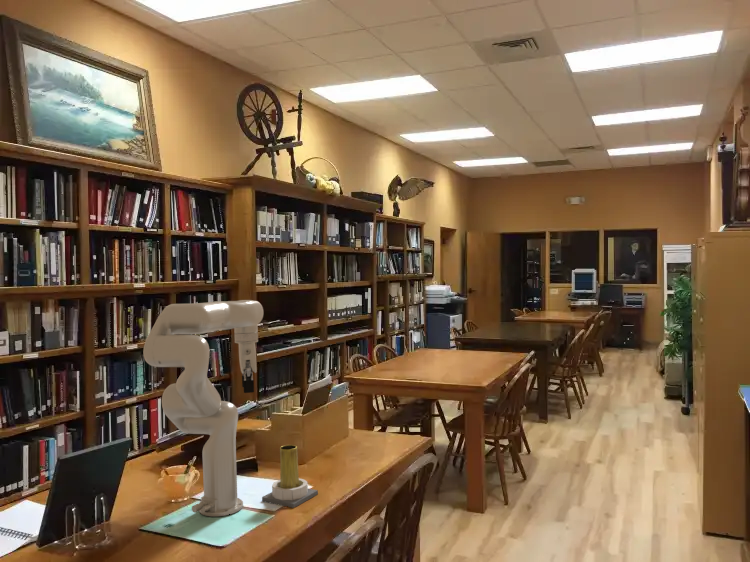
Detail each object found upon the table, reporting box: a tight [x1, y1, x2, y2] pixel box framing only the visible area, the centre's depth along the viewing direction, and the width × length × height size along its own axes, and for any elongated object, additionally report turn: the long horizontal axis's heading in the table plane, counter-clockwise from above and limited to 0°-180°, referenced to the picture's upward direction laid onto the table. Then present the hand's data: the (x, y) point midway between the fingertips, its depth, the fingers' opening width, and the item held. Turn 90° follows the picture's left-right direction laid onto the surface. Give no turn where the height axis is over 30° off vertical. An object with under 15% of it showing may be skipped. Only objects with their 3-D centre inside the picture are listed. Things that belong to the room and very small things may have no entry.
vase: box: [279, 444, 300, 489], centre depth 190 cm, size 6×6×14 cm
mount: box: [261, 477, 319, 509], centre depth 190 cm, size 12×12×4 cm
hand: (248, 389), depth 205 cm, fingers open, 9 cm apart
